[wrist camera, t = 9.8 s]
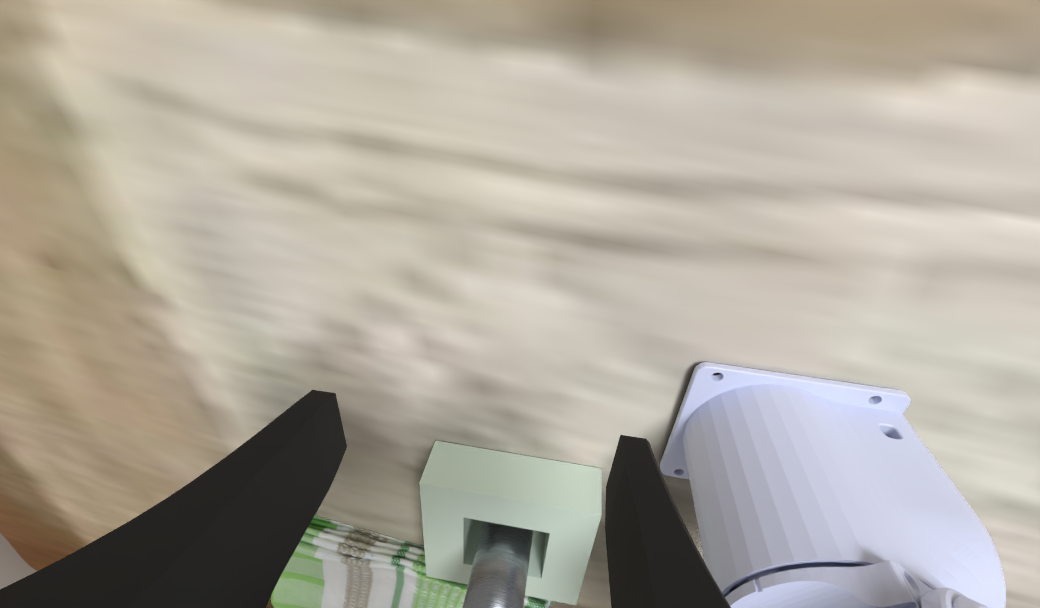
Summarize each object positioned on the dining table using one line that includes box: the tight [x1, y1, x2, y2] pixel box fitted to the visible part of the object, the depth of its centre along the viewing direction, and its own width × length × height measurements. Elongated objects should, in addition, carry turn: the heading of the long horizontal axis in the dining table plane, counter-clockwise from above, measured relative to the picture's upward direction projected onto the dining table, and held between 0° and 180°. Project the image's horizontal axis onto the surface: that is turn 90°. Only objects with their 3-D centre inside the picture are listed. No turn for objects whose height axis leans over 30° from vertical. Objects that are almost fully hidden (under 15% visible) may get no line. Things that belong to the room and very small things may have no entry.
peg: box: [463, 521, 533, 608], centre depth 27 cm, size 3×3×9 cm
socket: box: [419, 440, 602, 605], centre depth 29 cm, size 10×10×3 cm
